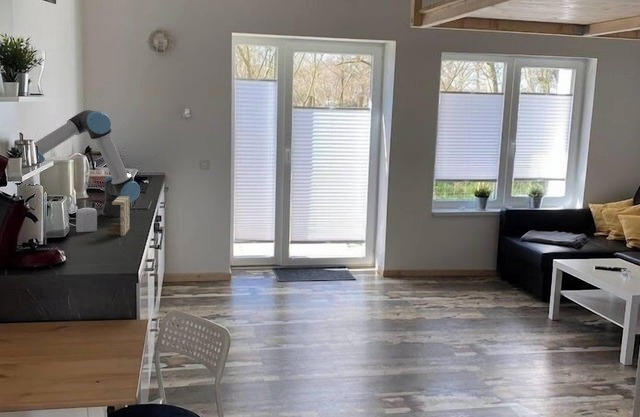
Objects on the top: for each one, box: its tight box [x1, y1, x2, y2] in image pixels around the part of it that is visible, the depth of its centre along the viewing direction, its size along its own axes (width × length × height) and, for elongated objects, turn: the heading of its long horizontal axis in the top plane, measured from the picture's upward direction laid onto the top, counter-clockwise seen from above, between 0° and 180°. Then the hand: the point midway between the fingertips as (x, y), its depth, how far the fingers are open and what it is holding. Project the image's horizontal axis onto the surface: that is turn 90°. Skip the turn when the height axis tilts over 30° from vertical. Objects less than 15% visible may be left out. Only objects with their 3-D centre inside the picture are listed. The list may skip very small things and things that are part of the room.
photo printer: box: [75, 207, 98, 233], centre depth 320 cm, size 10×4×12 cm, turn 123°
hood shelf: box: [107, 196, 131, 237], centre depth 322 cm, size 18×8×17 cm, turn 8°
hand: (66, 221), depth 319 cm, fingers closed
